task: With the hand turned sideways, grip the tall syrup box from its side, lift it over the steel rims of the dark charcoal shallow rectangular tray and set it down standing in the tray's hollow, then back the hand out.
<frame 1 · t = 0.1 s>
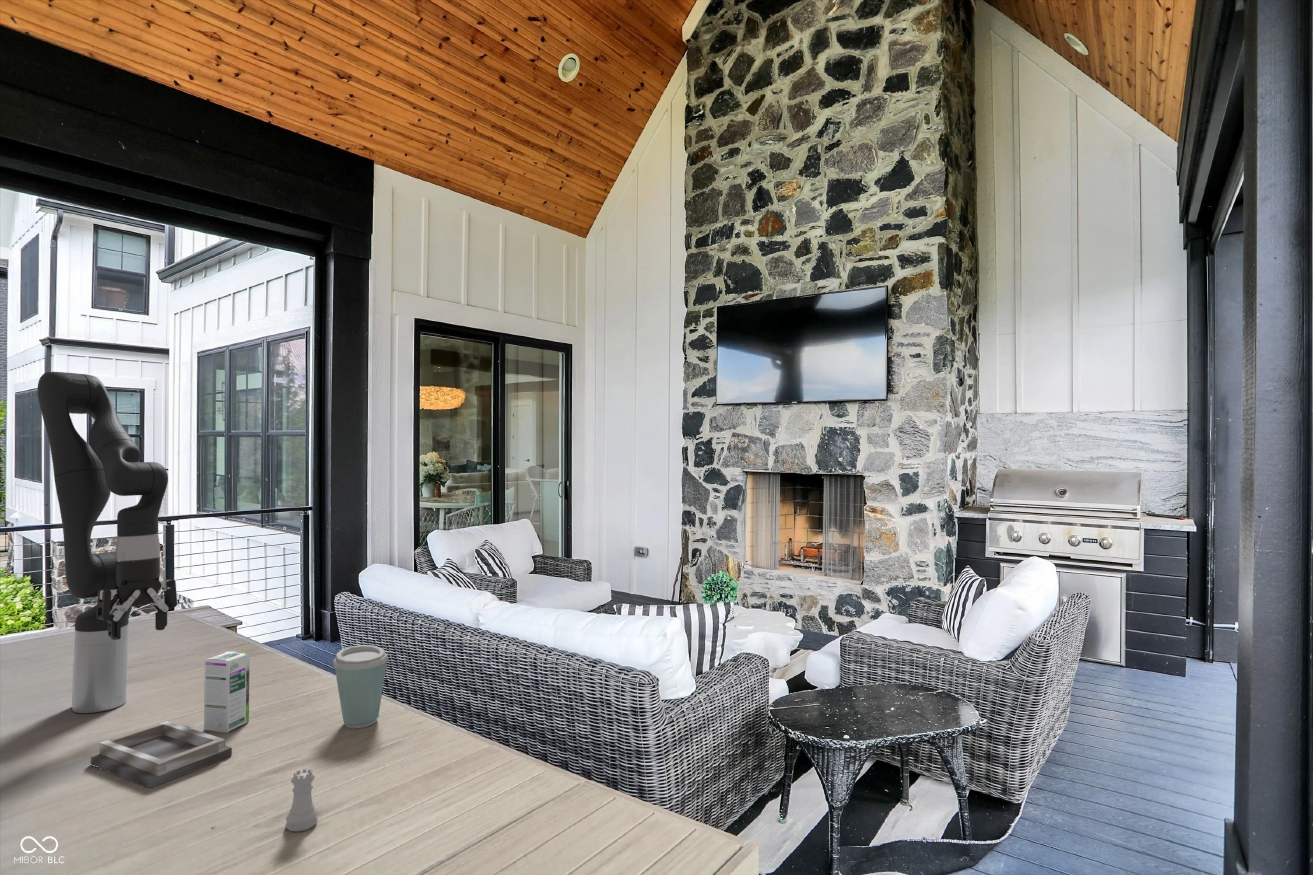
hand: (138, 634, 147), 17 cm above the table, tool pointing down, fingers open, 8 cm apart
syrup box: (226, 727, 143), on the table
rook chess piece: (301, 826, 107), on the table
shallow rectangular tray: (162, 760, 128), on the table
disposable coffee cup: (359, 723, 147), on the table
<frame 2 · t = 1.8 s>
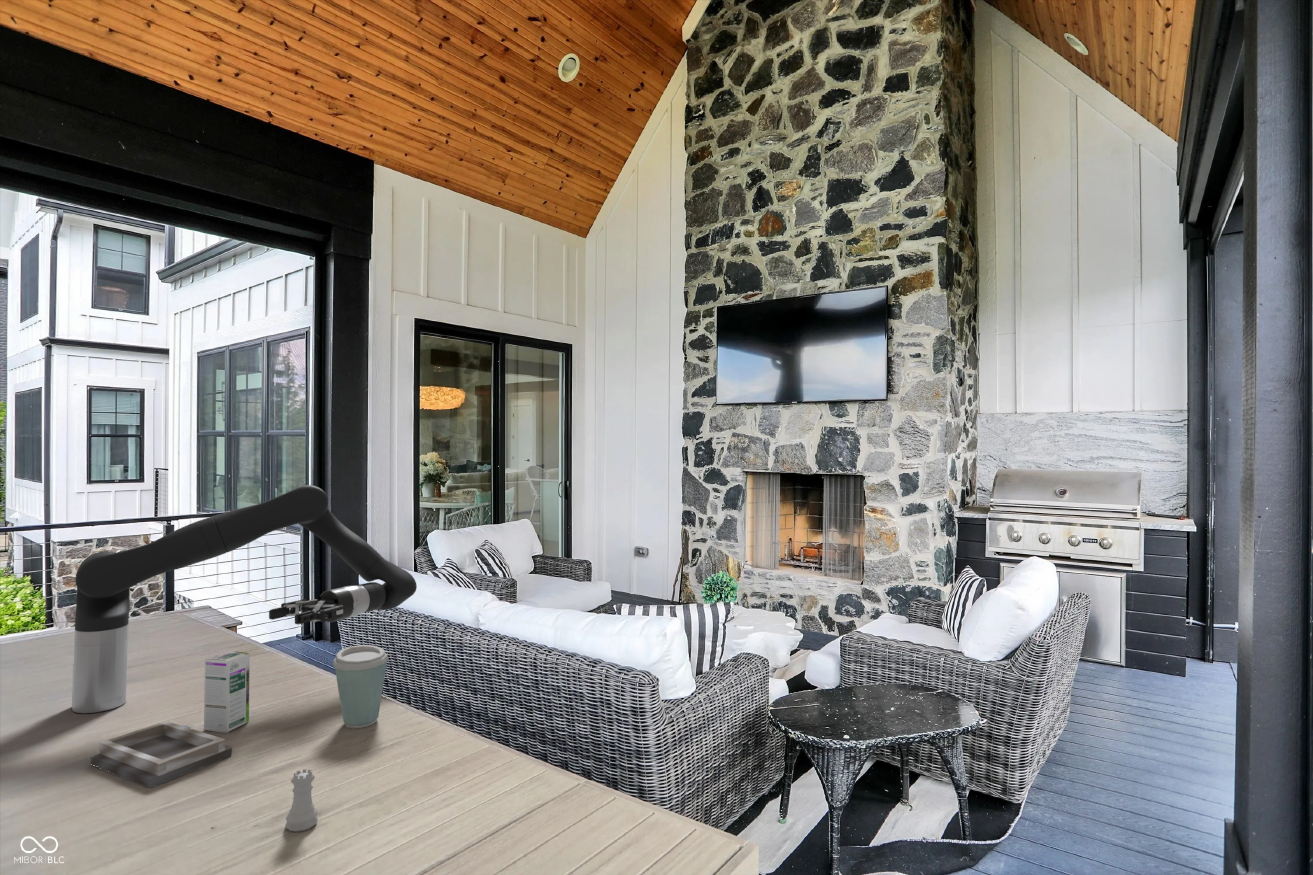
hand: (282, 617, 155), 20 cm above the table, tool horizontal, fingers open, 8 cm apart
nothing on the table moved.
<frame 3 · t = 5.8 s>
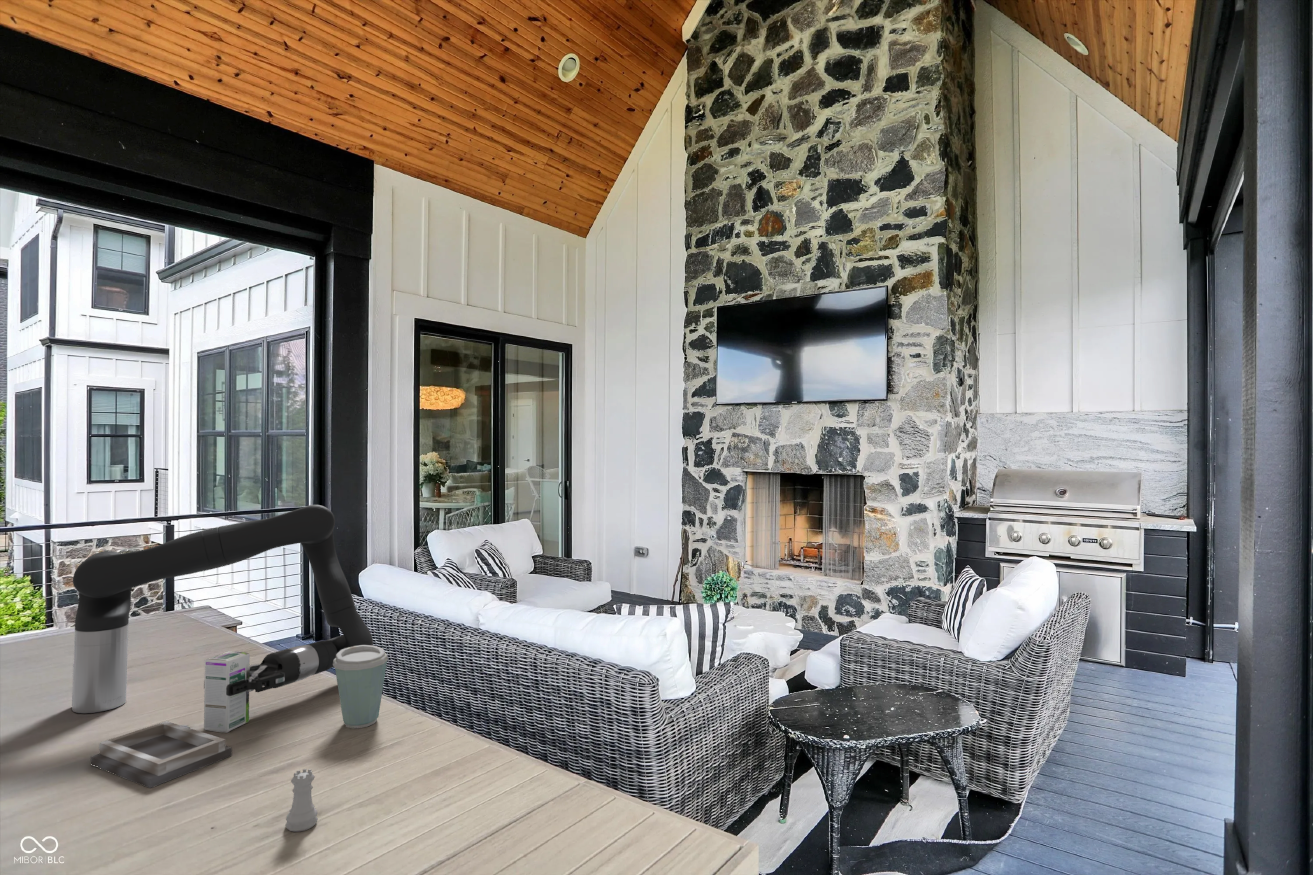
hand: (216, 687, 142), 9 cm above the table, tool horizontal, fingers closed on syrup box, 6 cm apart
syrup box: (226, 727, 143), on the table, touching gripper
everything else where it was.
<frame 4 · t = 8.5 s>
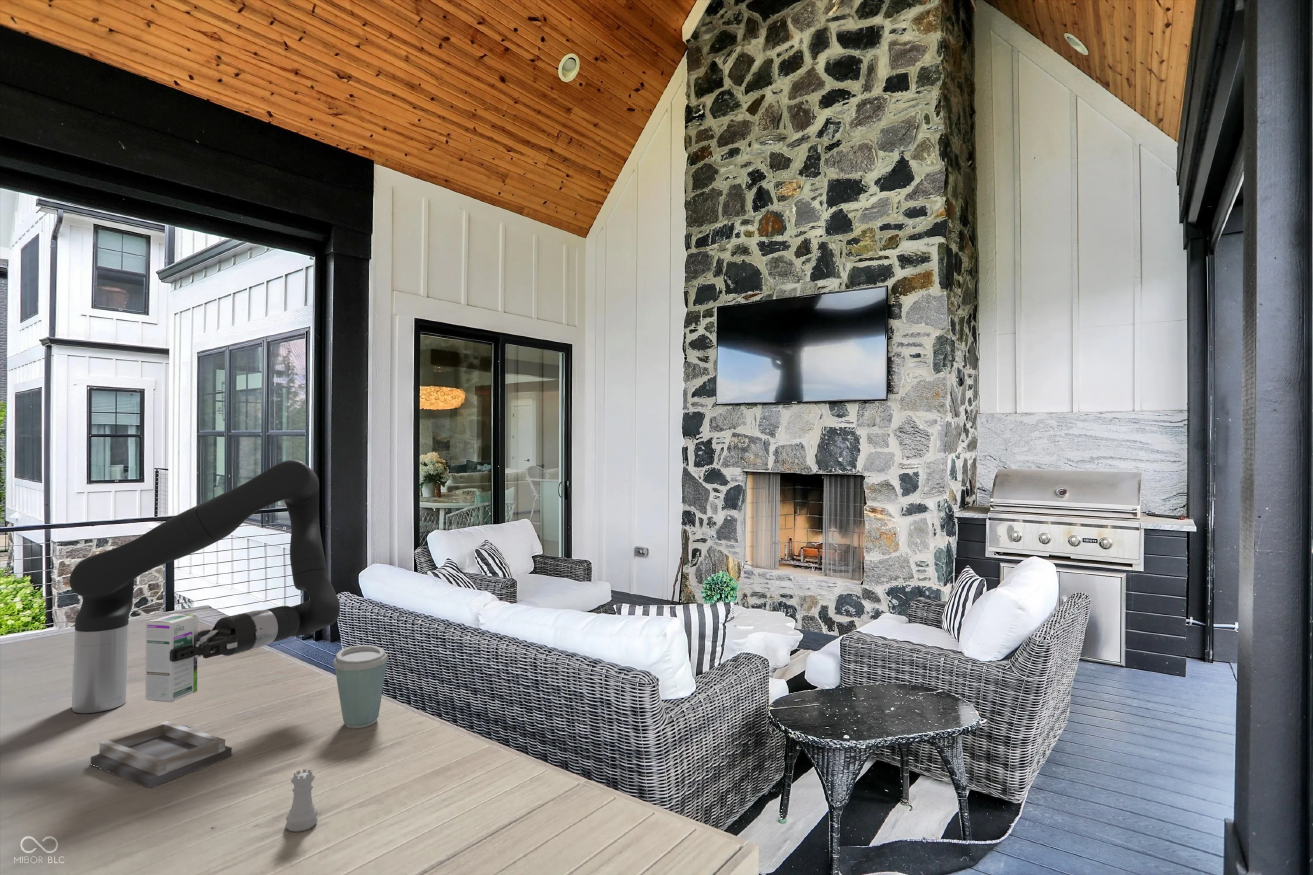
hand: (159, 653, 127), 20 cm above the table, tool horizontal, fingers closed on syrup box, 6 cm apart
syrup box: (171, 697, 129), point 11 cm above the table, touching gripper
everything else where it was.
when the fingers open (11 cm above the table, at t = 11.3 s): syrup box stays where it is, resting on shallow rectangular tray.
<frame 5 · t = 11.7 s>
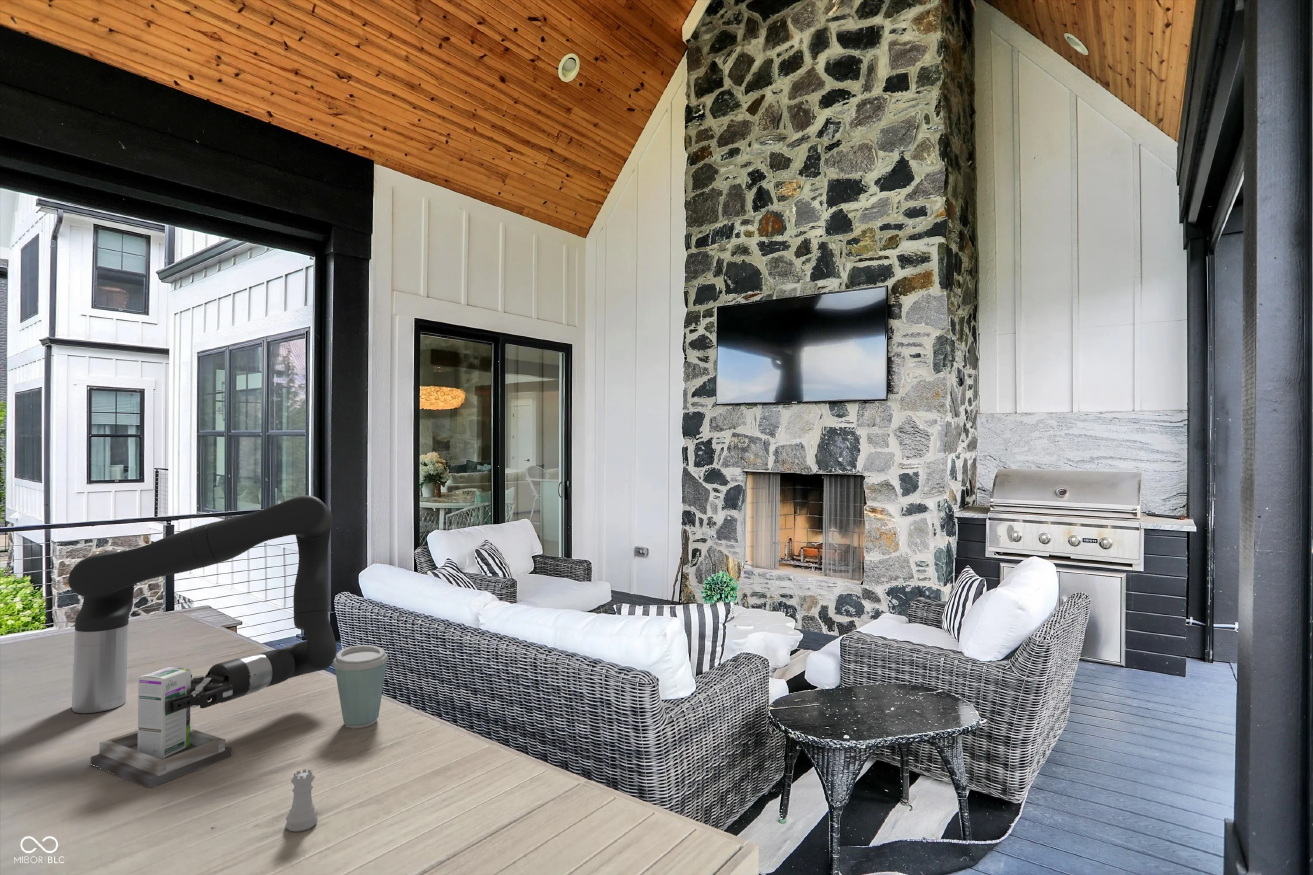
hand: (153, 702, 126), 11 cm above the table, tool horizontal, fingers open, 8 cm apart
syrup box: (163, 752, 128), point 1 cm above the table, touching shallow rectangular tray
everything else where it was.
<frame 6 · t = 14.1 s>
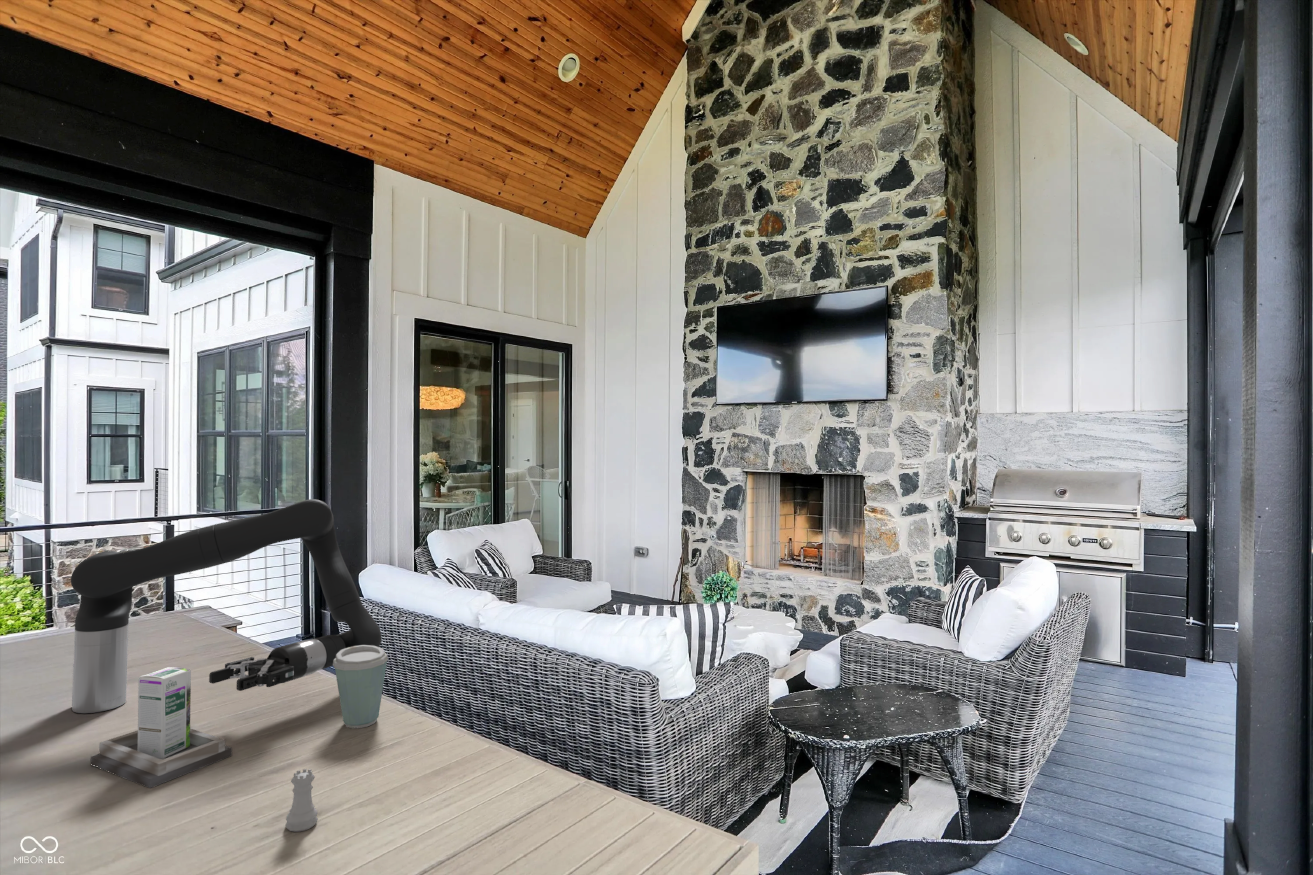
hand: (223, 681, 138), 11 cm above the table, tool horizontal, fingers open, 8 cm apart
nothing on the table moved.
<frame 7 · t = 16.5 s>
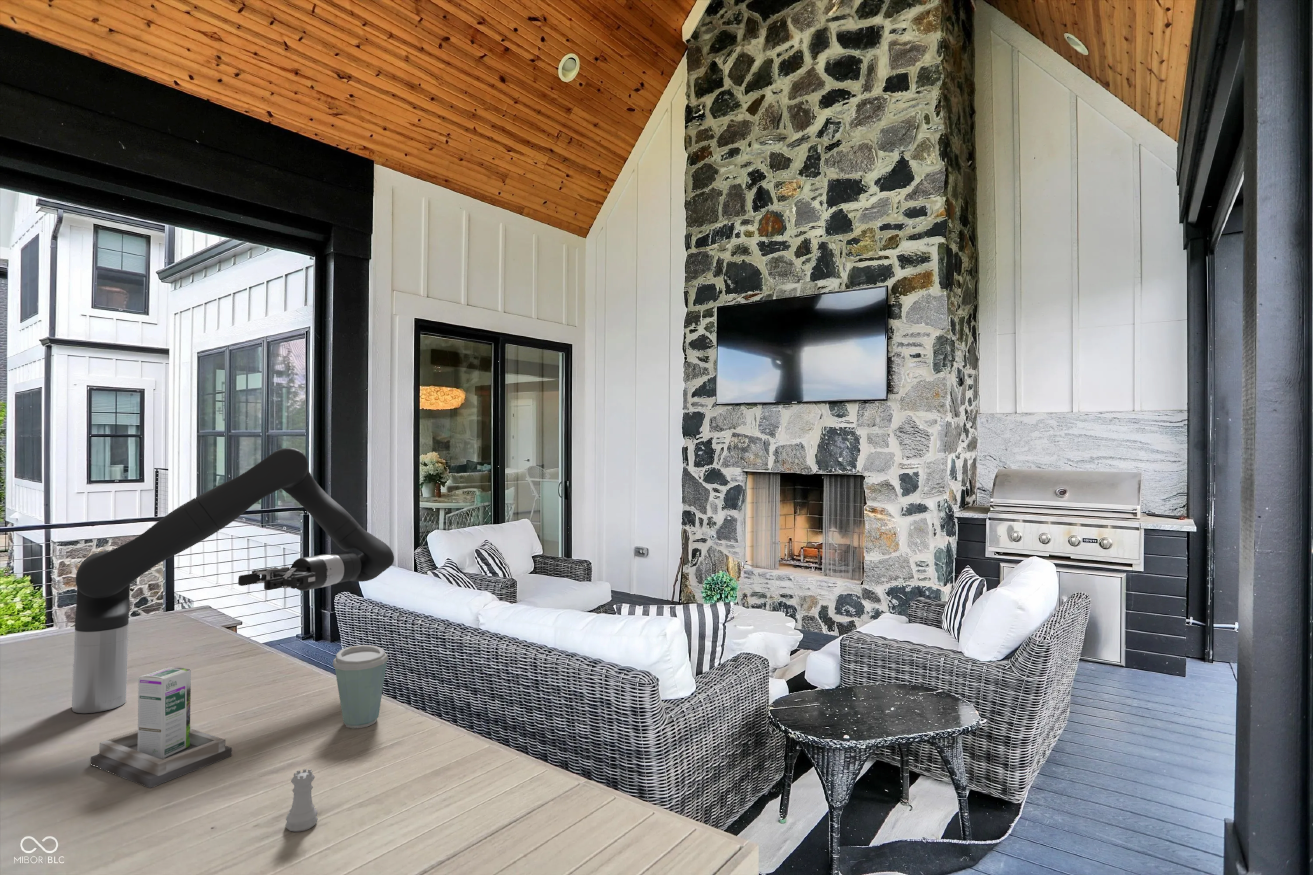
hand: (252, 582, 150), 28 cm above the table, tool horizontal, fingers open, 8 cm apart
nothing on the table moved.
at the end: syrup box inside the target area on the shallow rectangular tray (0.1 cm from its centre), point 1.3 cm above the shallow rectangular tray's base; syrup box tilted 0°; the gripper is holding nothing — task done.
